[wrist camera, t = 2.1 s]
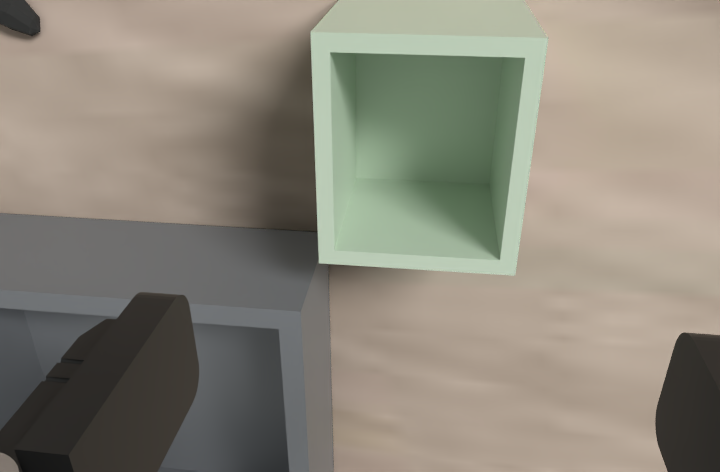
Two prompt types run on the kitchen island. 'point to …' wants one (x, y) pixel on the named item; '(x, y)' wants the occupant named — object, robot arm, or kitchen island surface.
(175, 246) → the charcoal crate
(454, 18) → the sage crate
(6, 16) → the chef's knife
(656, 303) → the kitchen island surface
